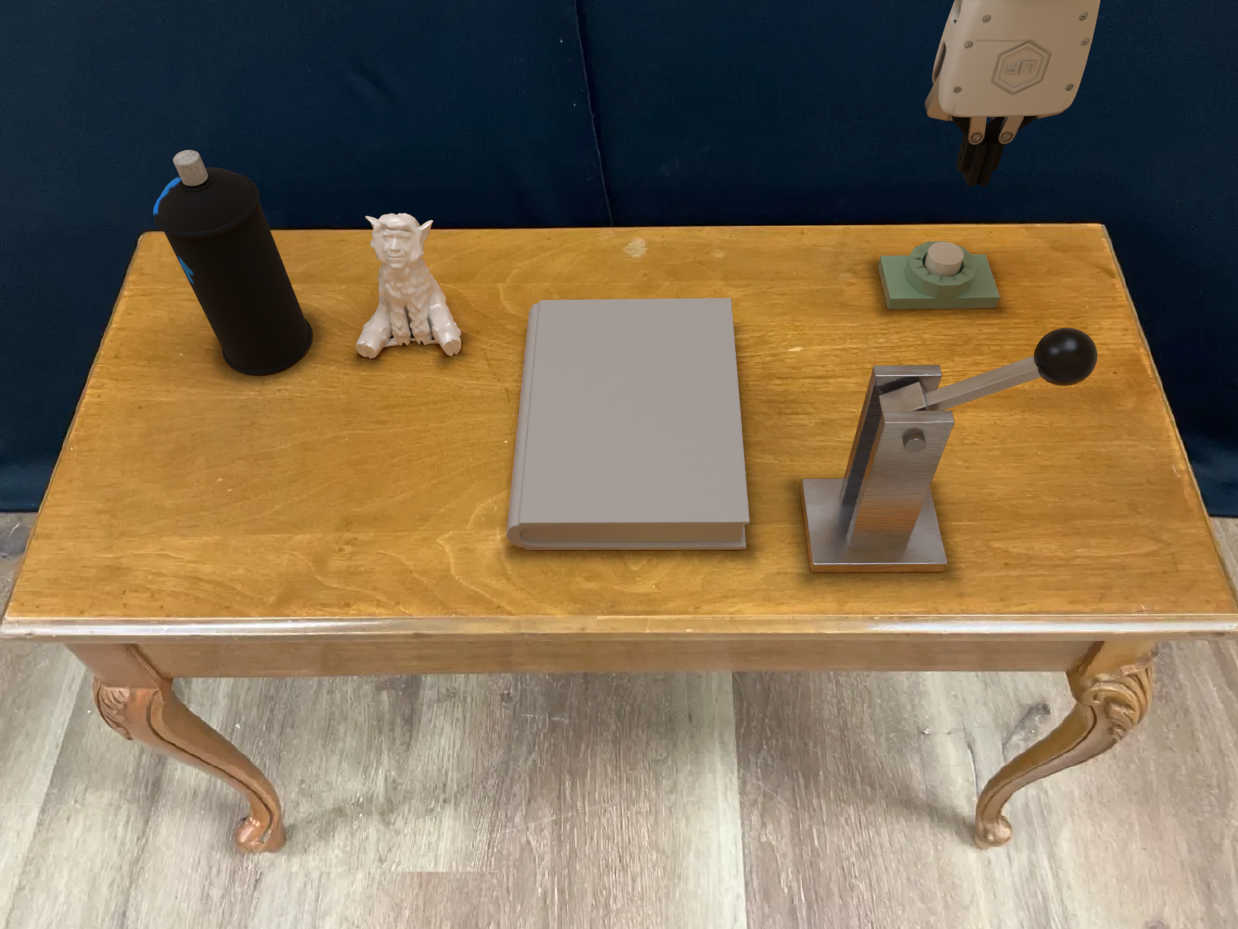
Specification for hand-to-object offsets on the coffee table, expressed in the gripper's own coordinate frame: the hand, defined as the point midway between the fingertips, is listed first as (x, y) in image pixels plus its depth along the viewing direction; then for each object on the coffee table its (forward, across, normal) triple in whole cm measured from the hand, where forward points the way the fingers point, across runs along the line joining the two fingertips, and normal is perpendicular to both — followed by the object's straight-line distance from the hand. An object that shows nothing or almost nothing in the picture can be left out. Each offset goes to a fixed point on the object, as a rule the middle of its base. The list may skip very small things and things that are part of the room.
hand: (973, 175), depth 81 cm
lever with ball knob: (-2, -5, -27) cm, 28 cm away
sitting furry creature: (+12, -49, -4) cm, 51 cm away
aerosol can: (+12, -63, -6) cm, 64 cm away
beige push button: (+10, 0, 0) cm, 10 cm away
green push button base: (+13, 0, 0) cm, 13 cm away
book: (+13, -29, -17) cm, 36 cm away
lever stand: (+13, -10, -27) cm, 32 cm away
